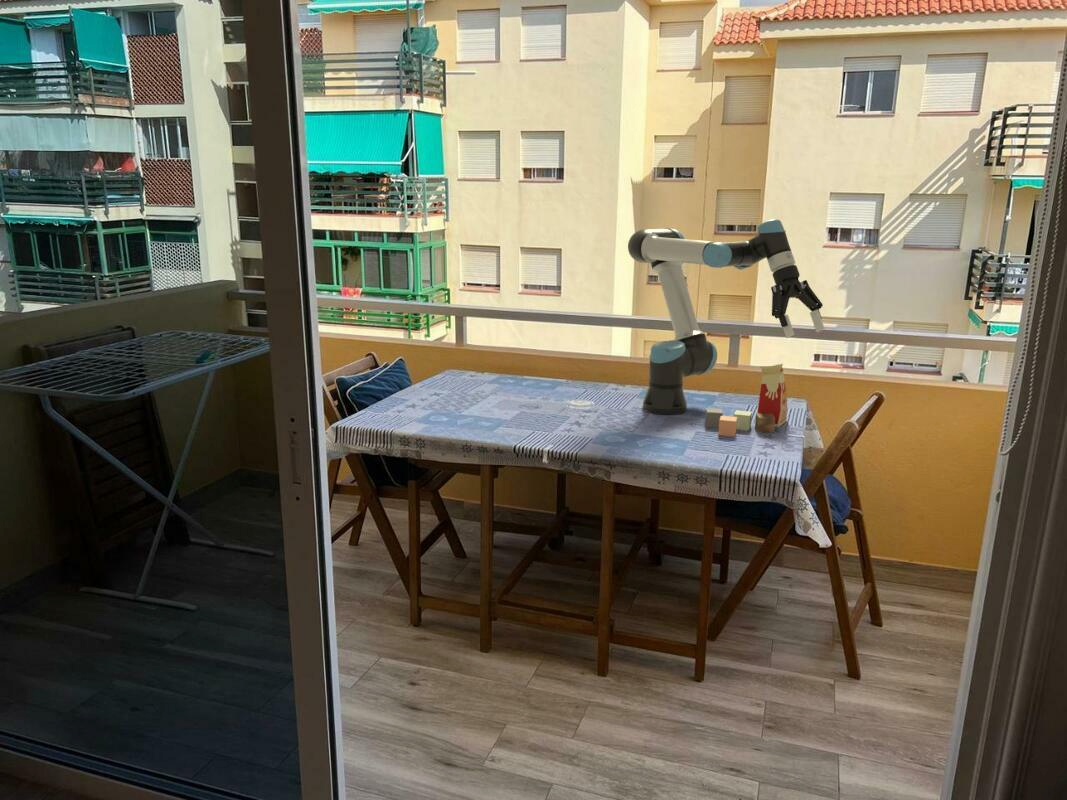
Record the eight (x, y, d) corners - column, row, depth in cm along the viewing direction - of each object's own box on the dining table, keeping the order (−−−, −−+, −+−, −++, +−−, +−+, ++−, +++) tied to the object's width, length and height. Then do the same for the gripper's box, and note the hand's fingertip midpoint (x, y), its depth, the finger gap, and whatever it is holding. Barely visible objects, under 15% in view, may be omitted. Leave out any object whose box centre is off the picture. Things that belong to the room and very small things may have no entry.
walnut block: (757, 432, 245) (758, 417, 244) (754, 428, 250) (756, 413, 249) (773, 433, 245) (775, 418, 244) (770, 428, 250) (772, 413, 248)
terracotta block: (718, 435, 243) (719, 419, 241) (719, 430, 247) (720, 415, 246) (734, 436, 241) (736, 421, 240) (735, 432, 246) (737, 417, 245)
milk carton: (786, 420, 259) (792, 361, 253) (779, 427, 251) (785, 366, 246) (759, 416, 263) (764, 358, 258) (751, 423, 255) (756, 363, 250)
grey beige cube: (705, 427, 251) (706, 412, 250) (705, 422, 256) (706, 408, 255) (721, 427, 250) (722, 412, 249) (720, 423, 255) (721, 408, 254)
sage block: (732, 429, 249) (733, 414, 248) (735, 424, 254) (736, 410, 252) (748, 430, 247) (749, 415, 246) (750, 426, 252) (752, 411, 250)
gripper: (764, 267, 230) (786, 335, 227) (820, 260, 242) (842, 324, 239) (746, 277, 236) (768, 343, 233) (802, 270, 249) (823, 332, 246)
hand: (805, 333), depth 236 cm, fingers open, 13 cm apart
